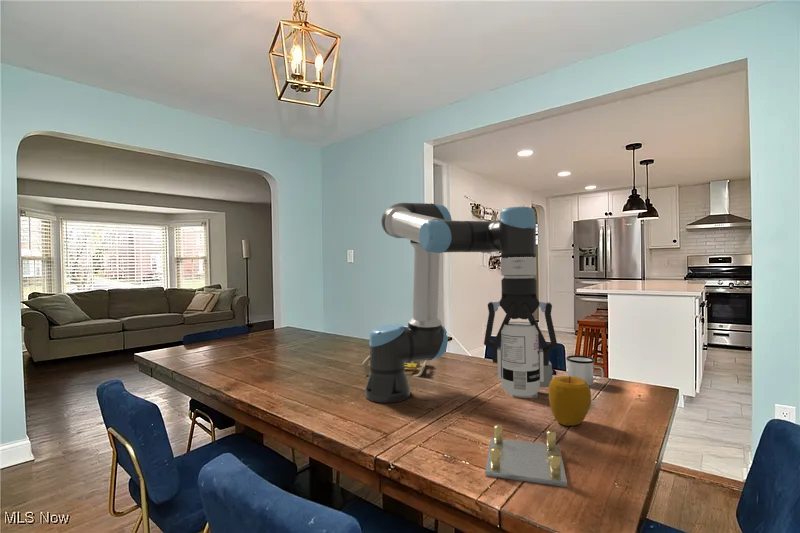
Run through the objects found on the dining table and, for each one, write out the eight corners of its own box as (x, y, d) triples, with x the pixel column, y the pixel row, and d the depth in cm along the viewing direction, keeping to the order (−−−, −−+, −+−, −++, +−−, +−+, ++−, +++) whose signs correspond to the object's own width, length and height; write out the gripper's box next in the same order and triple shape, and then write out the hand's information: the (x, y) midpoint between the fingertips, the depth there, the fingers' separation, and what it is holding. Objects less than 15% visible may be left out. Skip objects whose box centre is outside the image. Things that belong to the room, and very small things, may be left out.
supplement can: (496, 386, 92) (495, 321, 92) (531, 384, 93) (530, 320, 93) (508, 397, 84) (507, 327, 84) (546, 396, 85) (545, 326, 85)
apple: (588, 435, 102) (588, 385, 102) (544, 426, 108) (544, 379, 107) (593, 420, 111) (593, 374, 111) (553, 412, 117) (552, 369, 117)
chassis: (485, 475, 84) (484, 452, 84) (490, 441, 99) (490, 422, 99) (567, 487, 79) (566, 462, 79) (559, 449, 94) (559, 429, 94)
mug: (563, 384, 143) (563, 359, 143) (569, 377, 150) (569, 354, 150) (600, 390, 136) (600, 364, 136) (604, 383, 144) (604, 358, 143)
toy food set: (361, 376, 158) (361, 357, 158) (371, 364, 176) (371, 347, 176) (425, 378, 154) (425, 358, 154) (428, 365, 172) (428, 348, 172)
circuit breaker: (557, 399, 128) (557, 352, 128) (511, 396, 131) (511, 351, 131) (553, 391, 135) (553, 347, 135) (510, 389, 138) (509, 346, 138)
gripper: (468, 278, 88) (470, 380, 88) (571, 277, 82) (573, 387, 82) (473, 276, 95) (475, 371, 96) (567, 276, 89) (569, 377, 89)
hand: (520, 378), depth 89 cm, fingers closed on supplement can, 8 cm apart
